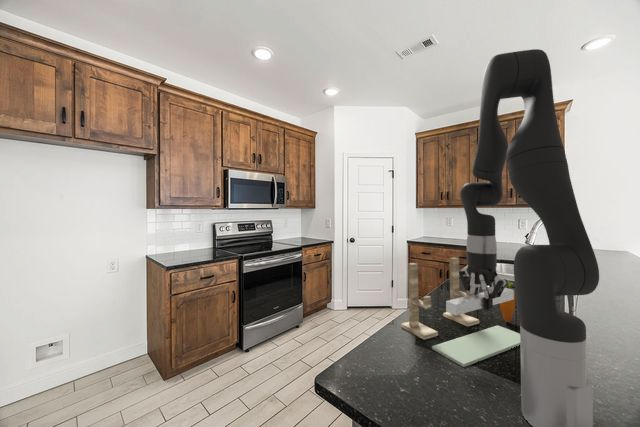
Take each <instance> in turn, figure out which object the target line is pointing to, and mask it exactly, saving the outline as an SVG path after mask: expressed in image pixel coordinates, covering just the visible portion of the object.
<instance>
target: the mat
mask: <svg viewBox="0 0 640 427" xmlns="http://www.w3.org/2000/svg"><path fill="white" fill-rule="evenodd" d="M519 345H520V332H517V331H514V330H511V329H508V328H506V327H503V326H500V325H498V324H497V325H495V326H491V327H488V328H486V329H485V328H484V329H481V330H479V331H475V332H472V333H470V334H466V335H463V336H460V337H457V338H454V339H451V340H447V341H444V342H441V343H438V344H435V345H432V346H431V349H432V350H433V351H435V352H436V353H438V354H440V355H442V356H443V357H445V358H447V359H449V360H451V361H452V362H454V363H455V364H457V365H459V366H461V367H462V368H465V367H468V366H471V365H473V364H475V363H478V361H479V362H481V361H483V360H486V359H489V358H492V357H494V356H497V355H499V354H502V353H504V352H506V351H509V350H511V348H512V349H514V347H515V348H517V347H519ZM516 346H517V347H516Z"/></svg>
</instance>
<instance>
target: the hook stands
mask: <svg viewBox="0 0 640 427" xmlns="http://www.w3.org/2000/svg"><path fill="white" fill-rule="evenodd" d="M418 266H419V265H418V263H416V262H410V263H407V271H408V272H407V273H408V274H407V278H408V279H407V281H408V282H407V283H408V284H407V285H408V286H407V287H408V289H407V290H408V317H409V318H408V321H407V322H401V323H400V324H401V328H402V329H404V330H406V331H408V332H409V333H411V334H413V335H414V336H416V337H418V338H420V339H422V340H424V341H425V340H428V339H432V338H435V337H437V336H439V331H437V330H435V329H433V328H431V327H429V326H427V325H425V324H423V323H421V322H420V316H419V315H420V314H419V312H420V311H419V307H420V308H422V309H425V310H427V309H431V308H432V296H430V295H427V296H422V300H421V299H419V267H418ZM459 271H460V258H459V257H449V293H450V294H449V297H450V299H449V300H452V299H457V298H461V297H465V296H469V295H471V293H470V292H469V291H468V290H465V291H461V290H460V275H459ZM442 316H443V317H444V318H446V319H449V320H451V321H454V322H456V323H458V324H461V325H463V326H466V327H471V326H474V325H478V324H480V319H478V318H476V317H473V316H470V315H467V314H466V313H463V314H459V315H453V314H451V313H448V312H446V311H445V312H443V313H442Z"/></svg>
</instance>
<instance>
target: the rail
mask: <svg viewBox="0 0 640 427" xmlns="http://www.w3.org/2000/svg"><path fill="white" fill-rule="evenodd" d="M514 293H515V289H512V288H510V289H508V288H504V290H503V292H502V294H501V296H500V297H497V298H494V299H493V306H495V305H500V303H503V302H506V301H510V300H513V299H514ZM484 298H485V296H484V291H482V292H479V293H477V294H473V295H469V296H465V297H461V296H460V298H457V299H452V300H450V299H449V300H446V301H445V313H446V312H448V313H451V314H453V315H459V314H467V313H470V312H473V311H477V310H481V309H484Z"/></svg>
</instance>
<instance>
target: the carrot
mask: <svg viewBox="0 0 640 427" xmlns="http://www.w3.org/2000/svg"><path fill="white" fill-rule="evenodd" d="M507 281H508V283H507V285H506V287H505V288H508V289H512V287H513V285H514V283H513V282H510V281H509V280H507ZM515 308H516V292H514V299H513V300H510V301H506V302H503V303H499V309H500V312H501V316H502V317H503V319H504V321H505V322H506V323H507V322H508V323H509V322H511V320H512V318H513V317H514V313H515V310H516V309H515Z"/></svg>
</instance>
